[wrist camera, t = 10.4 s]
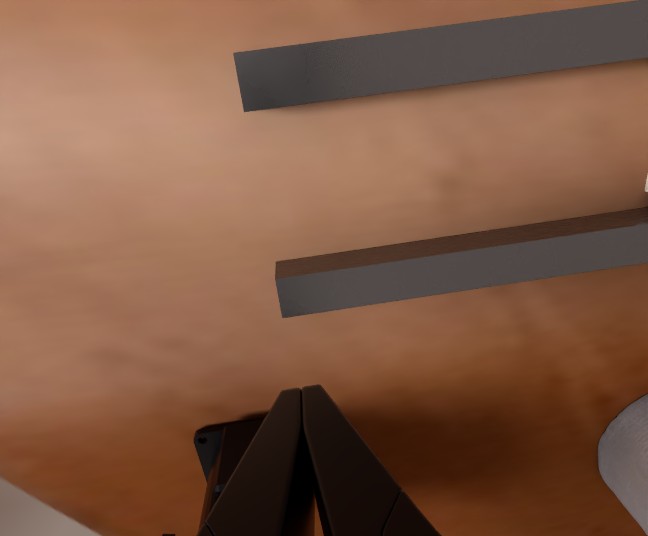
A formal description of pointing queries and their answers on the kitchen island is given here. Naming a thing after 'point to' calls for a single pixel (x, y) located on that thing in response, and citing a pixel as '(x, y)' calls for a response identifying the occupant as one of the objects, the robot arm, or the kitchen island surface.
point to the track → (436, 70)
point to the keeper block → (647, 187)
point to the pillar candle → (628, 459)
